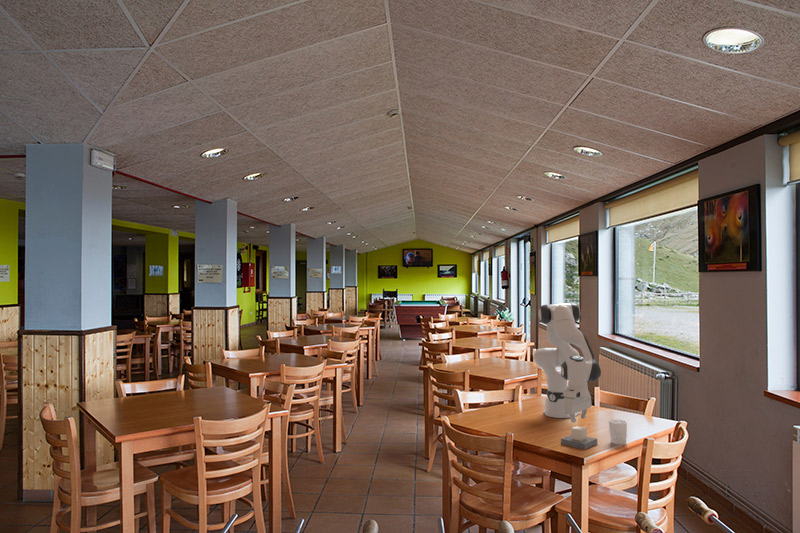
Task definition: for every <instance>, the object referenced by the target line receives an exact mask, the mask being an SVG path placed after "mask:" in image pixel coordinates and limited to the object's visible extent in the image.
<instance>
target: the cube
mask: <svg viewBox="0 0 800 533" xmlns="http://www.w3.org/2000/svg"><path fill="white" fill-rule="evenodd" d="M570 435H571V436H572V439H575V440H579V441H583V440H585V439H587V437H588V436H587V427H583V426H577V425H576V426H573V427H571V432H570Z"/></svg>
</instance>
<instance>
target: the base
mask: <svg viewBox="0 0 800 533" xmlns="http://www.w3.org/2000/svg"><path fill="white" fill-rule="evenodd" d="M560 444H561V445H563V446H567V447H572V448H576V449H580V450H588V449H590V448H592V447H594V446H597V445H598V438H595V437H590V436H587V439H585V440H583V441H579V440H575V439H572V436H571V434H569V435H567V436H565V437H562V438H561V439H560Z"/></svg>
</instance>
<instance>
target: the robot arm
mask: <svg viewBox="0 0 800 533" xmlns="http://www.w3.org/2000/svg"><path fill="white" fill-rule="evenodd" d="M537 315H538V317H539V318H538V319H539V320H540V322H541V323H542V324H546V339H547V341H548V343H550V344H551V345H552V346H555V347H540V348H537V349H536V350H535V352H534V353H533V360H534V362H535V364H536V365H537V366H538V367H540V368H541V369H542V370H543V372H544V374H545V376H546V381H547V382H546V383H547V390H546V396H547V398H545V407H544V410H543V414H544V415H545V416H546V417H549V418H556V419H570V422H571V423H572V424H575V423H576V422H577V418H576V417H577V416H579V415H580V418H581V419H584V420H585V419H586V418H587V412H588V409H591V408H592V396H591V393H590V391H589V388H588V382H595V383H596V382H597V381H598V380H599V379H600V378H601V375H602V370H601V367H600V364H599V363H598V361H597V359H596V357H595V355H594V354H595V353H593V350H592V347H591V345H590V342H589V340H588V338H587V336H586V334H585V333H583V332H582V331H580V330H579V328H578V326H577V324H576V322H578V321H579V320H580V319H581V318H580V317H581V309H580V308H579V305H578V304H577V303H573V302H571V303H568V302H567V303H566V302H565V303H563V302H559V303H551V304H543V305H541V306H540V307H539V309H538V314H537ZM572 345H574V346H575V347H577V348H579V349H580V350H581V353H582V355H583V356H581V355H580V353H579V351H578V350H577V349H576V348H574V347H573V346H572ZM556 368H560V372H559V371H558V370H557V369H556Z"/></svg>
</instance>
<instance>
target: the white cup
mask: <svg viewBox="0 0 800 533" xmlns="http://www.w3.org/2000/svg"><path fill="white" fill-rule="evenodd" d="M608 426H609V438H610V443H611V444H614V445H617V446H624V445H626V444H627V436H628V433H627V432H628V429H627V428H628V422H627V421H626V420H623V419H609V420H608Z"/></svg>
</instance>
